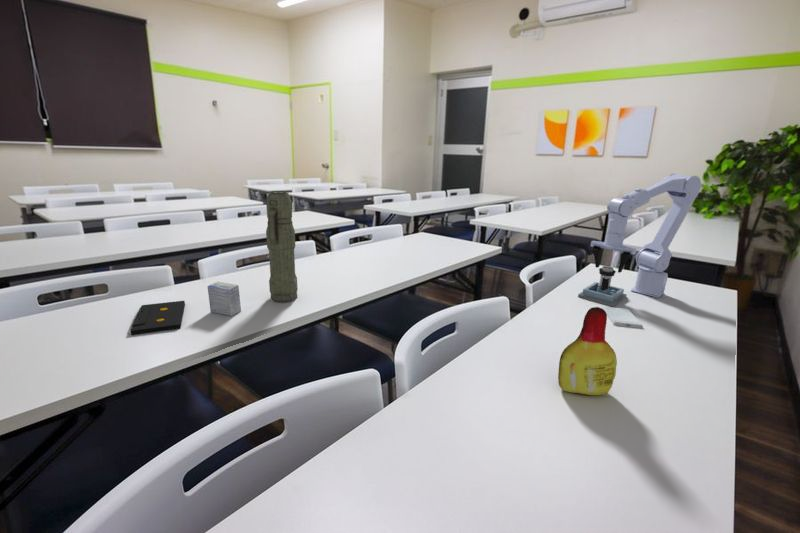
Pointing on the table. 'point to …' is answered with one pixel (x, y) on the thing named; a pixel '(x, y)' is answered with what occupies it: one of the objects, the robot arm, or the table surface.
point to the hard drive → (622, 317)
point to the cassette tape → (158, 317)
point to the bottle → (588, 358)
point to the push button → (605, 280)
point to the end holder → (603, 295)
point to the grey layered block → (224, 298)
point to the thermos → (281, 247)
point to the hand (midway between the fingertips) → (608, 269)
